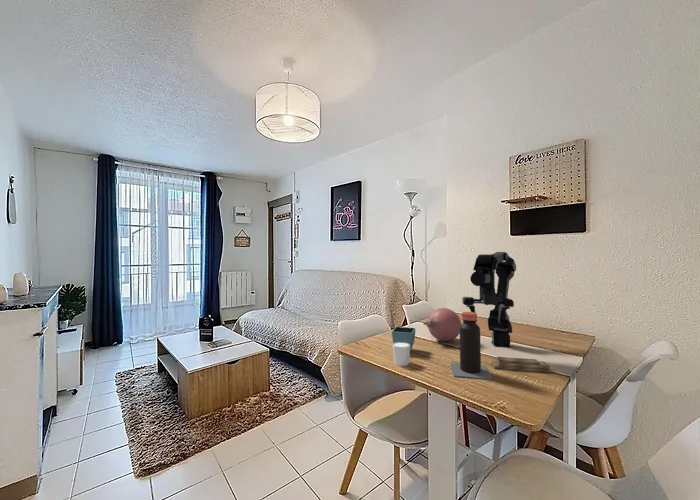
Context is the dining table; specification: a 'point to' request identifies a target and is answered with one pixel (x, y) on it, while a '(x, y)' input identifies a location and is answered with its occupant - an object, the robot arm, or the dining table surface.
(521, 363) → the offcut stack
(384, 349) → the dining table surface
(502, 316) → the robot arm
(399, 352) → the white cylinder
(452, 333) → the pink onion-shaped ball
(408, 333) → the flower pot
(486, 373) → the grey mat
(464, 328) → the dark water bottle
